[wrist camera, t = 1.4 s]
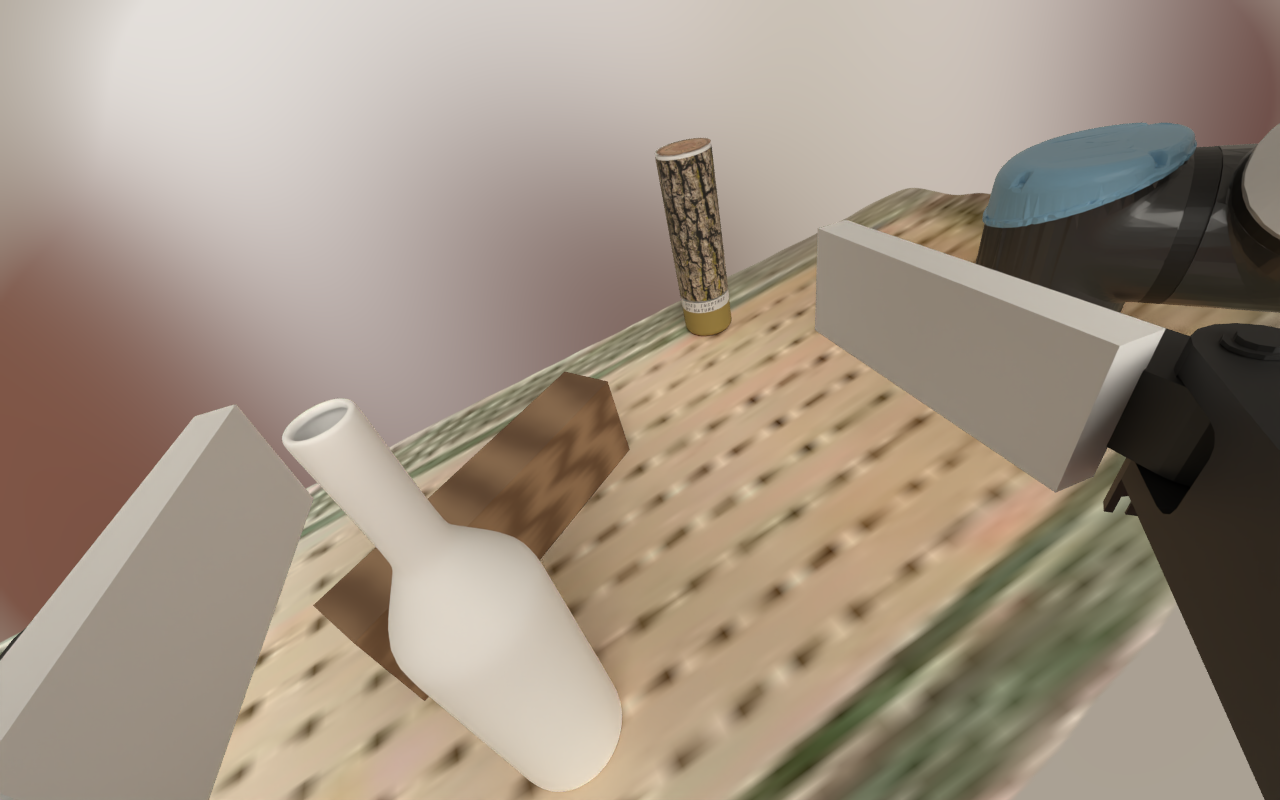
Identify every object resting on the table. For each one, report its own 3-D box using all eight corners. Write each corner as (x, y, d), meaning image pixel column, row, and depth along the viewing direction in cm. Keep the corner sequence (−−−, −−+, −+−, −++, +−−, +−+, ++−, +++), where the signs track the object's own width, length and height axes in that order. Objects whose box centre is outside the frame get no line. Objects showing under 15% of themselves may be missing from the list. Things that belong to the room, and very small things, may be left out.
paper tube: (740, 325, 72) (721, 140, 57) (701, 343, 71) (670, 158, 56) (716, 309, 77) (692, 135, 62) (678, 325, 76) (645, 152, 61)
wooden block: (589, 437, 60) (564, 371, 54) (629, 449, 57) (607, 381, 51) (384, 664, 43) (313, 605, 37) (424, 701, 39) (354, 643, 33)
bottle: (524, 674, 39) (275, 377, 21) (622, 659, 39) (452, 337, 20) (507, 800, 33) (131, 532, 15) (624, 785, 32) (381, 483, 14)
